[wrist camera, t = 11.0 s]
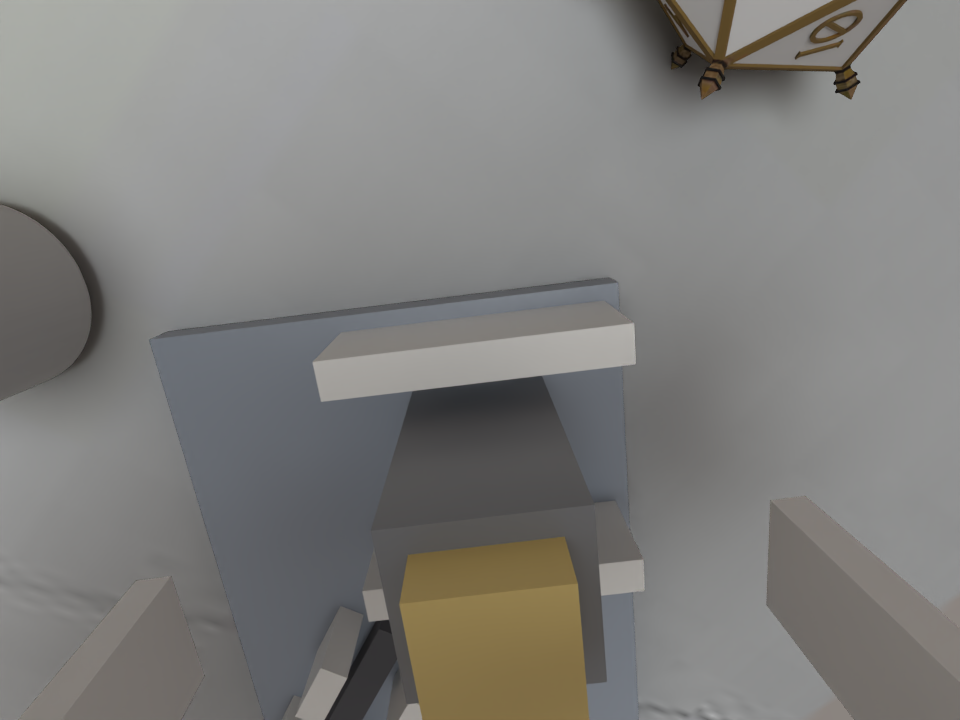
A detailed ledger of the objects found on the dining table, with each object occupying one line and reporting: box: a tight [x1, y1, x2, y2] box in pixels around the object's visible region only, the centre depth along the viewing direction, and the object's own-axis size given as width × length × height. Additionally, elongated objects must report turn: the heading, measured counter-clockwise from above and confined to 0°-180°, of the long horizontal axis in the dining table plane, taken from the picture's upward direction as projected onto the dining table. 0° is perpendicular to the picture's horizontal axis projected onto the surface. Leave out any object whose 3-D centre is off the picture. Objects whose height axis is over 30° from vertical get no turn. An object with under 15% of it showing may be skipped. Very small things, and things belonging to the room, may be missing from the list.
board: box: [149, 278, 639, 720], centre depth 21 cm, size 16×22×4 cm
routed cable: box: [325, 620, 397, 720], centre depth 22 cm, size 9×1×1 cm, turn 153°
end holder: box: [313, 301, 645, 622], centre depth 18 cm, size 9×9×4 cm
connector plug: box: [371, 376, 607, 720], centre depth 15 cm, size 4×4×10 cm
